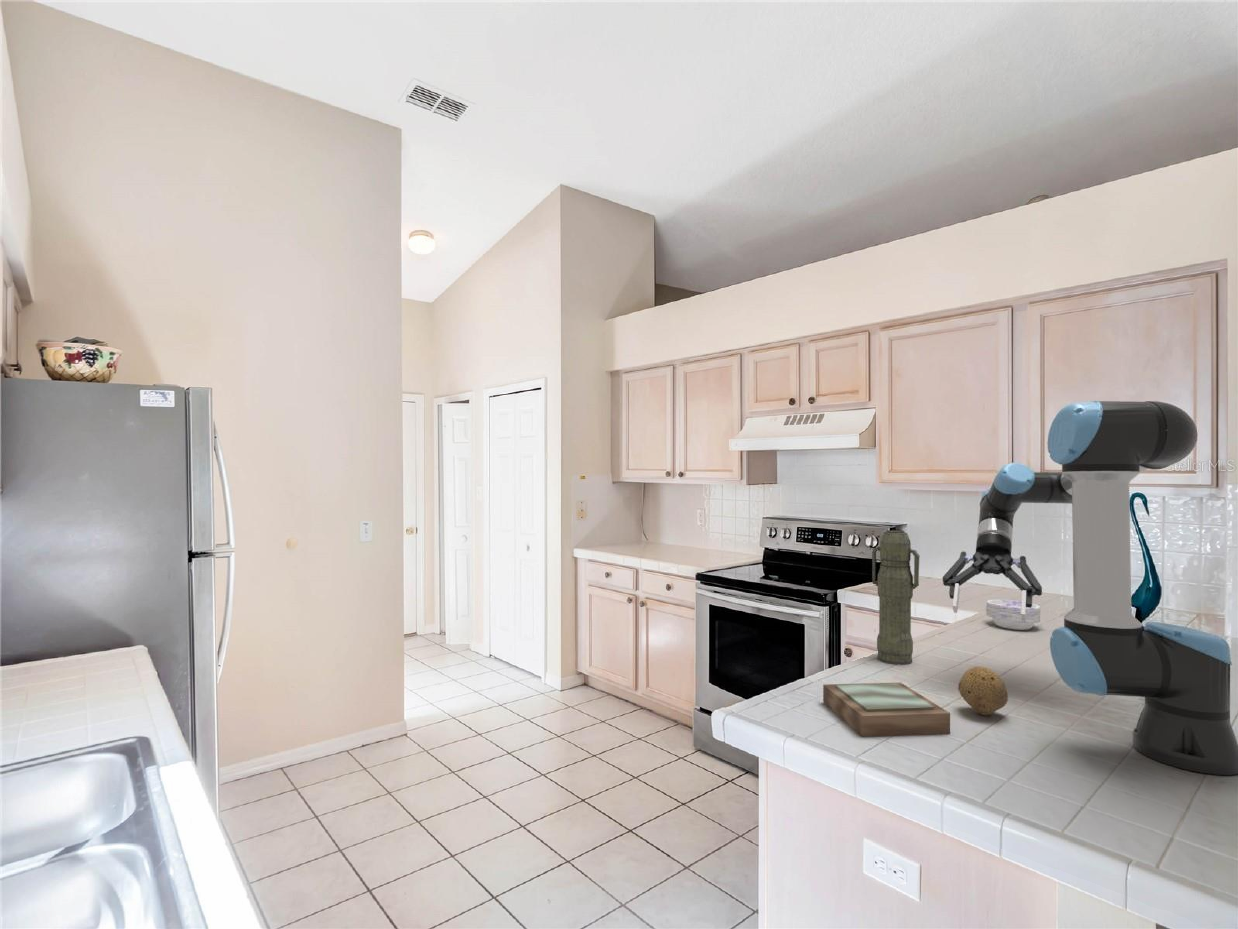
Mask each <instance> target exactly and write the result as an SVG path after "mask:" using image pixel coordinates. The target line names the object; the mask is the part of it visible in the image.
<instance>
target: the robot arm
mask: <svg viewBox="0 0 1238 929" xmlns="http://www.w3.org/2000/svg"><path fill="white" fill-rule="evenodd" d="M1197 428H1198V427H1197V426H1196V424H1195V421H1194V420H1193V418H1192V416H1190V415H1189V414H1188V413H1187V412H1186V411H1185V410H1183V409H1181V408H1180V407H1178V406H1176V405H1174V404H1171V403H1168V402H1163V401H1158V400H1156V401H1155V400H1153V401H1152V400H1148V401H1126V400H1125V401H1124V400H1123V401H1119V400H1118V401H1116V400H1111V401H1110V400H1103V401H1102V400H1094V401H1093V400H1091V401H1081V402H1073V403H1069V404H1067V405H1065V406H1064V407H1062V408H1061V409H1060V410H1059V411H1058V412H1057V414H1056V415H1055V417H1054V418H1053V420H1052V422H1051V424H1050V427H1049V431H1048V435H1047V452H1048V453H1049V457H1050V459H1051V460H1052V461H1053V462H1054V463H1056V464H1058V465H1061V471H1060V472H1056V471H1055V472H1051V471H1049V472H1045V471H1044V472H1041V471H1038V472H1037V471H1033V470H1032V468H1030V467H1029V466H1027V465H1025V464H1021V463H1019V462H1010V463H1007V464H1005V465H1003V466H1002V467H1001V468H1000V470H999V471H998V472H997V474H996V476H995V477H994V480H993V482H992V485H991V486H990V488H989V489H987V490H984V492H983V493H982V494H981V498H980V499H981V500H980V501H979V515H978V516H979V517H978V526H977V534H976V536H977V537H976V538H977V539H976V545H975V552H974V554H967V552H966V551H964V550H963V551H961V552H960V555H959V558H958V559H957V560H956V561H955V562H954V563H953V565H952V566H951V567H950V568H949V569H948V571H947V572H946V573H944V575H943V576H942V578H941V579H942V584H943V586H944V587H949V591H948V595H949V598H950V599H951V600H952V610H953V613H956V614H957V613H958V609H959V600H960V592H961V589H960V588H961V587H960V586H962V585H964V583H966V582H968V581H969V580H970V579H972V578H974V577H975V576H978V575H980V574H981V573H984V574H987V575H988V574H989V575H990V574H993V575H1000V574H1002V575H1003V576H1005V577H1006V579H1008V580H1010V581H1011V582H1012V583H1013V584H1014V585H1015V586H1016V587H1017V588H1018V589H1019V590H1020V591H1021V601H1022V608H1021V620H1022V621H1026V607H1029V608H1031V607H1032V604H1033V597H1034V596H1038V597H1040V596H1041V595H1042V594H1043V586H1042V585H1041V583H1040V581H1038V579H1037V577H1036V576H1035V574H1034V573H1033V571H1032V570H1031V568H1030V567H1029V565H1028V564H1027V557H1026V556H1024V555H1021V556H1019V558H1018V557H1017V558H1015V557H1014V558H1013V557H1012V546H1013V544H1012V543H1013V532H1014V530H1013V528H1014V519H1015V518H1014V517H1015V514H1016V513H1017V511H1018V510H1019V508H1020V507H1021V505H1022V503H1023V504H1068V505H1069V504H1071V507H1072V508H1071V511H1072V513H1071V515H1072V517H1071V518H1072V521H1071V522H1072V524H1071V525H1072V580H1073V582H1072V583H1073V584H1072V587H1073V608H1072V609H1071V610H1070V611H1069V612H1067V613H1066V614H1065V615H1063V626H1059V627H1058V628H1055V629H1054V630H1052V632H1051V635H1050V637H1049V639H1050V640H1049V649H1050V655H1051V658H1052V662H1053V665H1054V667H1055V670H1056V671H1057V673H1058V674H1059V677H1060V678H1061V679H1062V681H1063V682H1064V683H1065V684H1066V686H1068V687H1069V688H1070V689H1071V690H1073V691H1076V692H1078V693H1082V694H1090V695H1097V696H1101V697H1102V696H1104V697H1105V696H1119V697H1122V696H1124V697H1139V698H1140V697H1141V698H1143V697H1144V705H1143V706H1144V707H1143V709H1142V710H1141V712H1140V715H1139V717H1138V721H1137V724H1136V726H1135V727H1134V729H1133V731H1132V746H1133V747H1134V748H1135V750H1136V751H1138V752H1139V753H1141V754H1142V755H1144V756H1147V757H1148V758H1150V759H1153V760H1155V761H1158V762H1160V763H1163V764H1165V765H1169V766H1172V767H1175V768H1178V769H1179V768H1180V769H1182V770H1187V771H1190V772H1191V771H1192V772H1196V773H1197V772H1198V773H1202V774H1208V775H1217V776H1218V775H1219V776H1220V775H1223V776H1232V775H1238V740H1237V738H1236V737H1237V736H1236V734H1235V731H1234V729H1233V726H1232V723H1231V666H1232V665H1233V663H1232V661H1231V650H1230V645H1229V644H1228V642H1227V641H1226V640H1225V639H1224V638H1222V637H1220V636H1219V635H1216V634H1213V633H1210V632H1207V631H1204V630H1200V629H1199V630H1198V629H1194V628H1191V627H1186V626H1181V625H1178V624H1177V625H1176V624H1171V623H1165V622H1159V621H1158V622H1157V621H1148V622H1146V623H1145V625H1144V627H1143V623H1142V622H1140V621H1139V620H1138V619H1137V618H1136V617H1135V616H1134V615H1133V613H1132V572H1131V570H1132V568H1131V566H1132V564H1131V559H1132V558H1131V513H1130V512H1131V511H1130V509H1131V508H1130V505H1131V504H1130V484H1131V481H1132V480H1133V479H1135V478H1136V477H1137V476H1138V475H1140V474H1141V473H1142V472H1145V471H1147V470H1153V471H1154V470H1155V471H1157V470H1163V469H1165V468H1168V467H1171V466H1172V465H1175V464H1177V463H1179V462H1181V461H1182V460H1184V459H1186V458H1187V457H1188V456H1189V455H1190V454H1191V453H1192V451H1193V450H1194V448H1195V447H1196V444H1197V441H1198V435H1199V434H1198V429H1197ZM970 562H972V564H971V565H970V566H968V567H967V568H966V569H964V568H965V566H966V565H968V564H969V563H970ZM1013 565H1015V566H1016V567H1017V569H1020V570H1021V573H1022V575H1023V576H1024V578H1025V580H1024V579H1023V578H1022V577H1021V576H1020V575H1019V574H1018V573H1017V572H1016V571H1015V570H1014V569H1013V568H1012V566H1013ZM963 569H964V570H963ZM962 570H963V571H962ZM961 571H962V572H961ZM1026 581H1027V582H1026Z"/></svg>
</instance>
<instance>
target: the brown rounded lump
mask: <svg viewBox="0 0 1238 929" xmlns="http://www.w3.org/2000/svg"><path fill="white" fill-rule="evenodd" d="M957 687H958V688H957V690H958V692H959V694H960V696H961V697H962V699H963V700H964V701H965V703H967V704H968V706H970V707H971V708H972V709H973V710H974V711H975V712H976V713H977V714H979V715H980V716H991V715H992V714H994V713H995V712H997V711H998V710H1000V709H1002V708H1004V707H1006V705H1007V703H1008V700H1009V694H1008V692H1007V688H1006V684H1005V683H1004V681H1003V679H1002V678H1001V676H1000V675H999V674H998V673H996V672H995V671H993V670H992V669H990V668H988V667H986V666H974V667H971V668H969V669H968V670H966V671H965V672H964V674H963V675H962V677H961V679H960V680H959V682H958V684H957Z"/></svg>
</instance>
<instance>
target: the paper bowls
mask: <svg viewBox="0 0 1238 929" xmlns="http://www.w3.org/2000/svg"><path fill="white" fill-rule="evenodd" d="M1021 608H1022V600H1021V601H1019V600H1013V599H987V601H986V607H985V609H986V611H985V612H986V613H985V614H986V616H988V618H991V619H992V621H993V623H994V624H995V625H996V626H997V627H1000V628H1002V629H1003V628H1004V629H1008V630H1015V631H1026V630H1031V629H1032V628H1033V627H1034V624H1035V623H1040V622H1041V606H1040V605H1038V604H1035V603H1032V607H1031V608H1029V607H1026V621H1022V620H1021Z"/></svg>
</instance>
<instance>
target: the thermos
mask: <svg viewBox="0 0 1238 929" xmlns="http://www.w3.org/2000/svg"><path fill="white" fill-rule="evenodd" d="M879 541H880V542H879V546H876V547H875V548H874V549H872V553H871V572H872V573H871V574H872V575H871V577H872V578H871V579H872V580H871V581H872V585H875V586H876V587H877V595H878V597H879V598H878V599H879V600H878V601H879V605H878V607H879V612H878V618H879V619H878V620H879V622H878V625H879V626H878V628H879V629H878V634H877V637H876V649H877V660H878V661H880V662H882V663H887V664H890V665H897V664H900V666H902V665H904V666H905V665H906V664H907V665H910V664H912V663H913V652H914V641H913V636H912V631H911V630H912V629H911V628H912V626H911V625H912V621H911V620H912V618H911V617H912V614H911V613H912V604H911V603H912V599H913V596H914V590H915V589H916V588H918V587H919V586H920V584H919V583H920V582H919V581H920V580H919V578H920V577H919V576H920V554H919V553H918V551H917V550H916V549H912V548H911V540H910V536H909V534H908V532H905V531H904V530H898V529H897V530H892V529H891V530H890V529H889V530H888V529H887V530H885V531H883V532H882V536H881V538H880V540H879ZM877 551H878V552H880V553H879V554H880V555H879V559H880V564H879V570H878V573H877ZM911 554H912V555H913V558H914V561H913V563H914V564H913V565H914V567H913V569H914V570H913V572H914V573H913V574H912V570H911V565H910V564H911V563H910V562H911V556H912V555H911ZM876 576H877V577H876Z"/></svg>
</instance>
